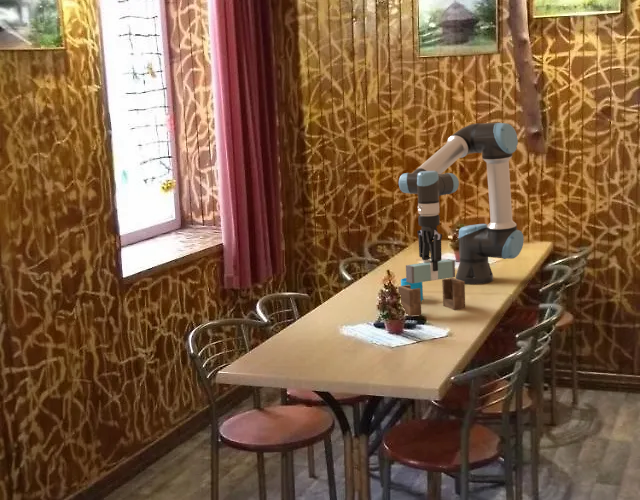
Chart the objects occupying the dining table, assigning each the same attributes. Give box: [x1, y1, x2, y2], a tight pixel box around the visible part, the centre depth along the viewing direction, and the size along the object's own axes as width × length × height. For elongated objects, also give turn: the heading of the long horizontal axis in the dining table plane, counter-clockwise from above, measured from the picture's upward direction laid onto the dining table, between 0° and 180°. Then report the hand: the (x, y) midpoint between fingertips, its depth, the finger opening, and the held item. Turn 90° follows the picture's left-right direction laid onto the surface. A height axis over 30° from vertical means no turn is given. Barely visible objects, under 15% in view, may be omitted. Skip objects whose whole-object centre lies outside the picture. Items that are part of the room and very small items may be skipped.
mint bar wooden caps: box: [397, 277, 466, 316], centre depth 340 cm, size 23×8×10 cm, turn 114°
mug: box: [400, 277, 424, 302], centre depth 359 cm, size 12×8×8 cm
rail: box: [405, 259, 456, 283], centre depth 338 cm, size 18×4×6 cm, turn 114°
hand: (430, 278), depth 338 cm, fingers closed on rail, 4 cm apart
